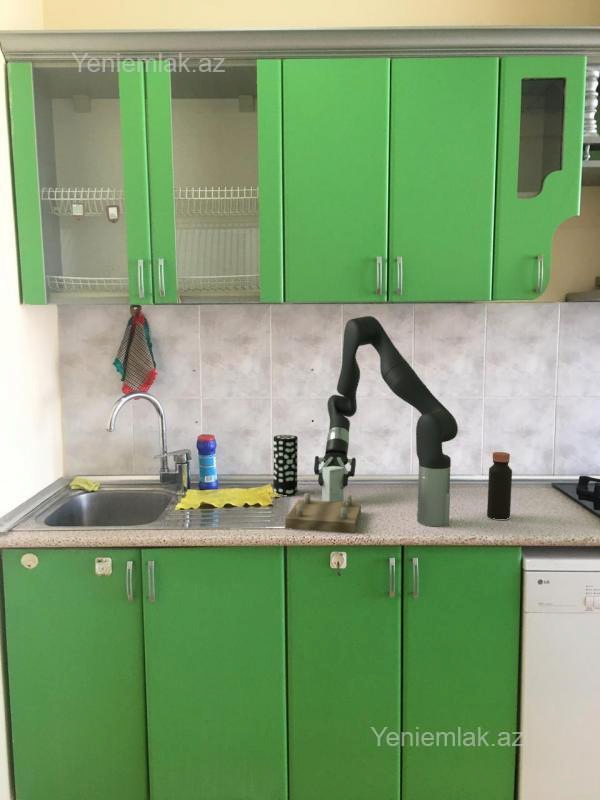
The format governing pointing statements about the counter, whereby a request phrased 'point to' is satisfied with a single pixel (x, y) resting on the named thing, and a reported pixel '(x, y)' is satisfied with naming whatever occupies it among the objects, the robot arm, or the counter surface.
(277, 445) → the spotted tube
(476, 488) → the counter surface
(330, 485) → the skincare box
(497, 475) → the bottle
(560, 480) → the counter surface
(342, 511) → the walnut plinth
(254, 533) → the counter surface
